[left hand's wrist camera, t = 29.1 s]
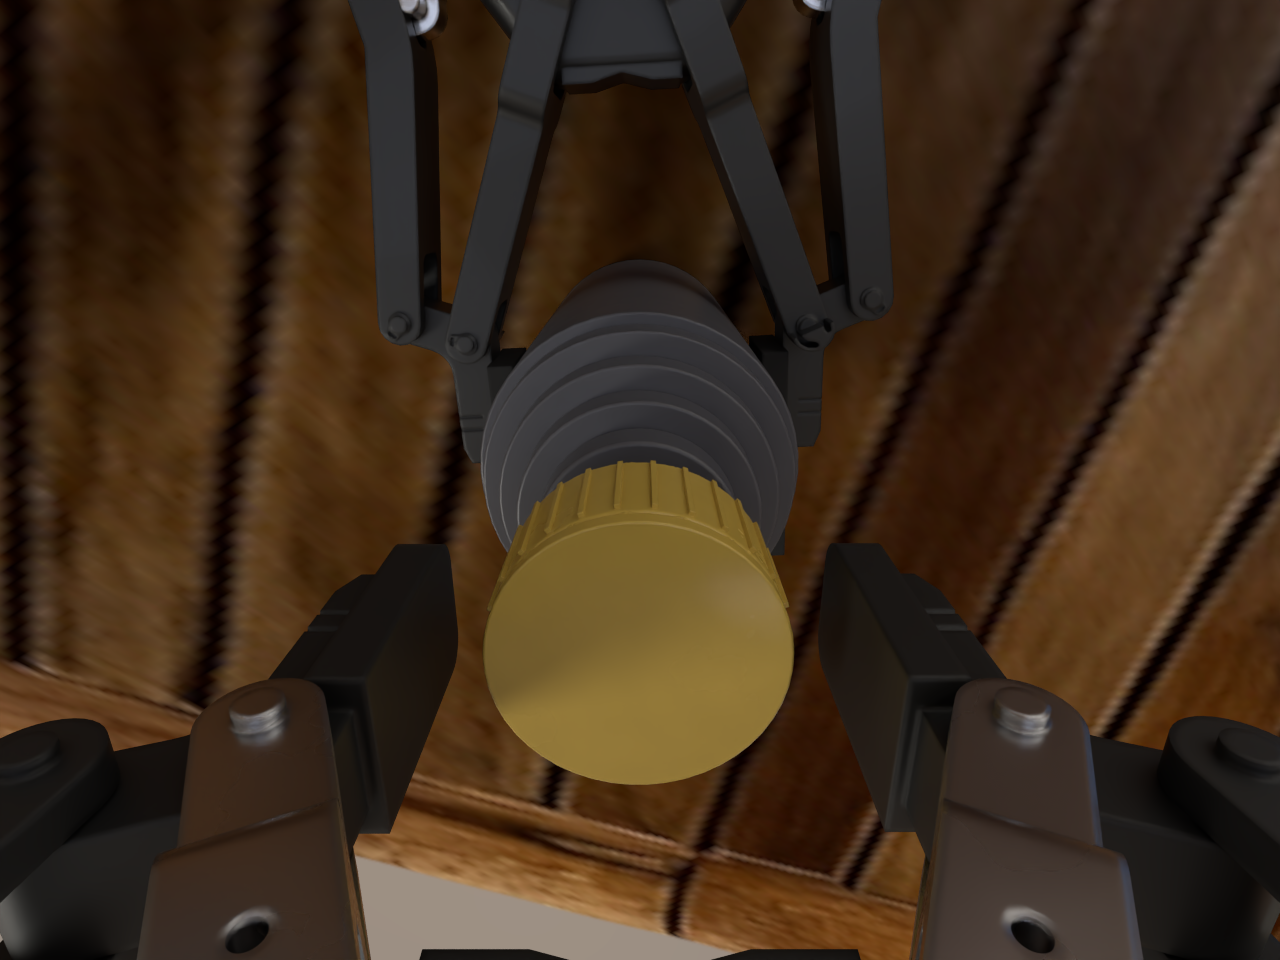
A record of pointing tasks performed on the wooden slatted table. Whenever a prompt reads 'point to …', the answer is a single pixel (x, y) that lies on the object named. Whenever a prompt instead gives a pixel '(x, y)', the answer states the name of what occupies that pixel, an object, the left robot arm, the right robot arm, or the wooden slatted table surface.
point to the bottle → (639, 399)
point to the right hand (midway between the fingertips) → (647, 541)
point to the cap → (638, 627)
